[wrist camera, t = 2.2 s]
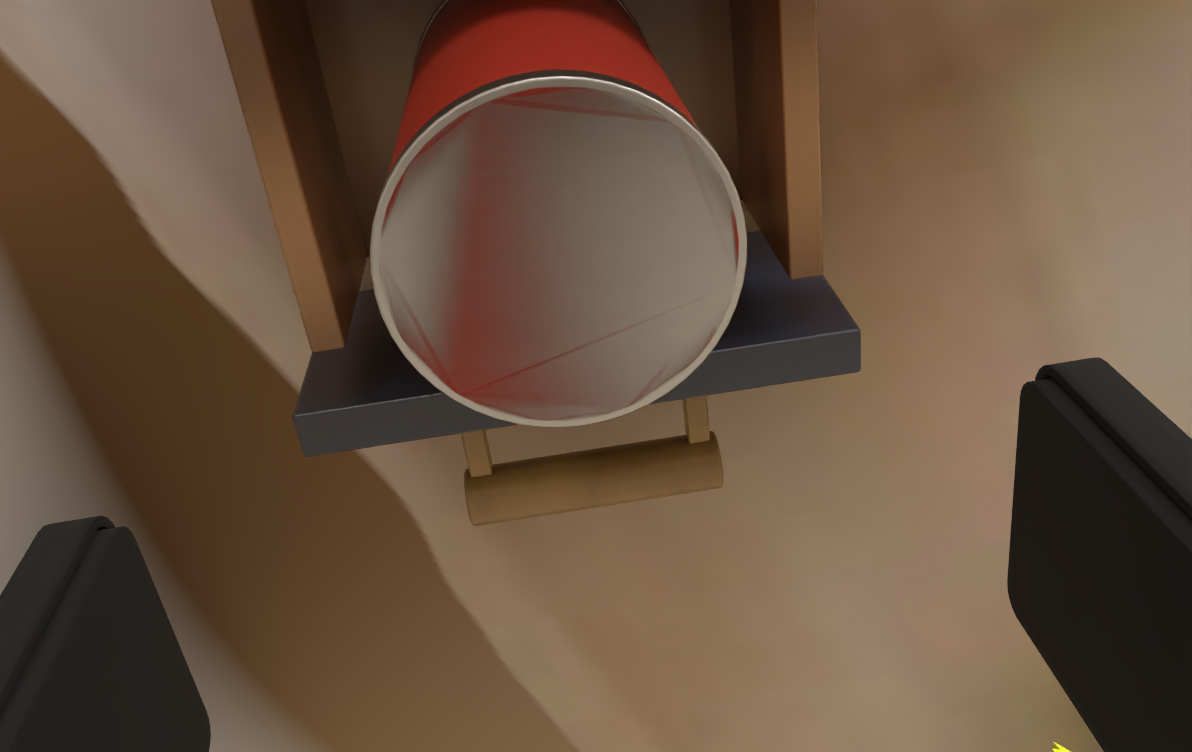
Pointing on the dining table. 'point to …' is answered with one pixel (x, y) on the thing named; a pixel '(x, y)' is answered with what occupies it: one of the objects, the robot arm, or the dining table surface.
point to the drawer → (360, 168)
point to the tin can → (552, 216)
